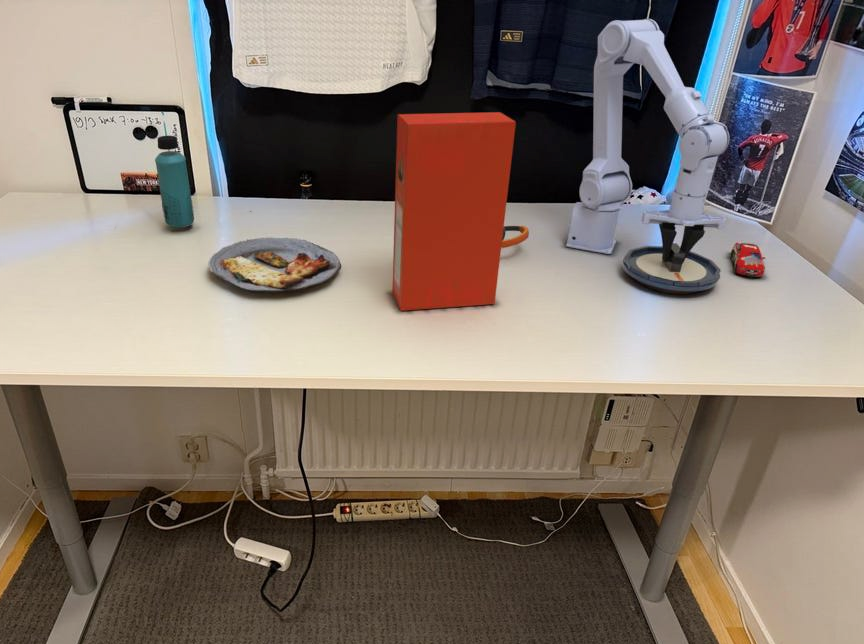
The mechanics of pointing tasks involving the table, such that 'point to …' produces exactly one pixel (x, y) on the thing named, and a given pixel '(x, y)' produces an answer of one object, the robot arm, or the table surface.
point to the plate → (671, 269)
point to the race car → (747, 259)
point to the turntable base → (665, 289)
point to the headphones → (514, 240)
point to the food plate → (275, 264)
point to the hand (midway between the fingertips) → (672, 260)
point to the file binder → (450, 207)
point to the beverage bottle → (174, 184)
